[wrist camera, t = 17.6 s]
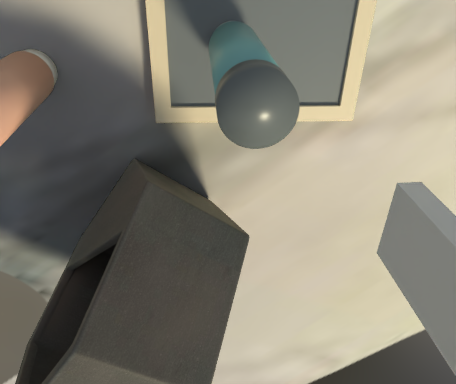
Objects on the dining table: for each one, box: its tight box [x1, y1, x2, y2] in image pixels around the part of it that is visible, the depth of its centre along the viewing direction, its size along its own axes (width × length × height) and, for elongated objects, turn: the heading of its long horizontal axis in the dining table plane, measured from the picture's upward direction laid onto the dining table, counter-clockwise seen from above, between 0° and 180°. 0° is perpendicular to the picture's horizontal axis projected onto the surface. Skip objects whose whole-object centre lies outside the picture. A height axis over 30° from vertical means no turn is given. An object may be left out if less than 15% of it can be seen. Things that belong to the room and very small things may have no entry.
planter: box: [15, 159, 249, 384], centre depth 28 cm, size 17×8×21 cm
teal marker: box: [209, 21, 300, 149], centre depth 22 cm, size 4×4×13 cm
